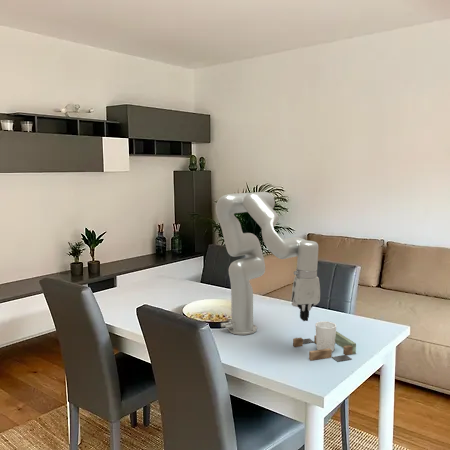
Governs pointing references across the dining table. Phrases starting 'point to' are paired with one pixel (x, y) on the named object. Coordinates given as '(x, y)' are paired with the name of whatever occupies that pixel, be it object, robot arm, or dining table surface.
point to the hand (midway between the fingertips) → (304, 319)
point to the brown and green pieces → (341, 340)
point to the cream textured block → (325, 335)
